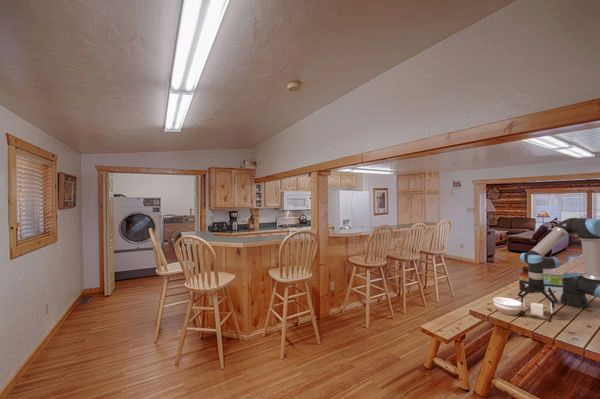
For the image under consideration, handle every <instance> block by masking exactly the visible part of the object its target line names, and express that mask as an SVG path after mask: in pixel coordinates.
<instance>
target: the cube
mask: <svg viewBox="0 0 600 399" xmlns="http://www.w3.org/2000/svg"><path fill="white" fill-rule="evenodd" d="M530 308H531V314H536V315H540V316H543V315H544V311H545V305H544V304H543V303H538V302H534V301H533V302H532V301H531V303H530Z"/></svg>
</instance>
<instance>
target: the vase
mask: <svg viewBox="0 0 600 399" xmlns="http://www.w3.org/2000/svg"><path fill="white" fill-rule="evenodd" d="M529 278H530V277H529V273H528V266H522V271H520V272H519V273H518V280H519V281H518V284H519V285H518V286H519V287H518V288H519V291H520V290H521V289H522V287H523V284H524V283H525V284H528V285H529ZM529 289H530V288H529V287H528V286H527V287H525V289H524V290H523V291H525V292H527V291H528V290H529ZM525 292H524V293H525ZM529 294H535V292H533V291H531V292H530V293H529Z"/></svg>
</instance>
